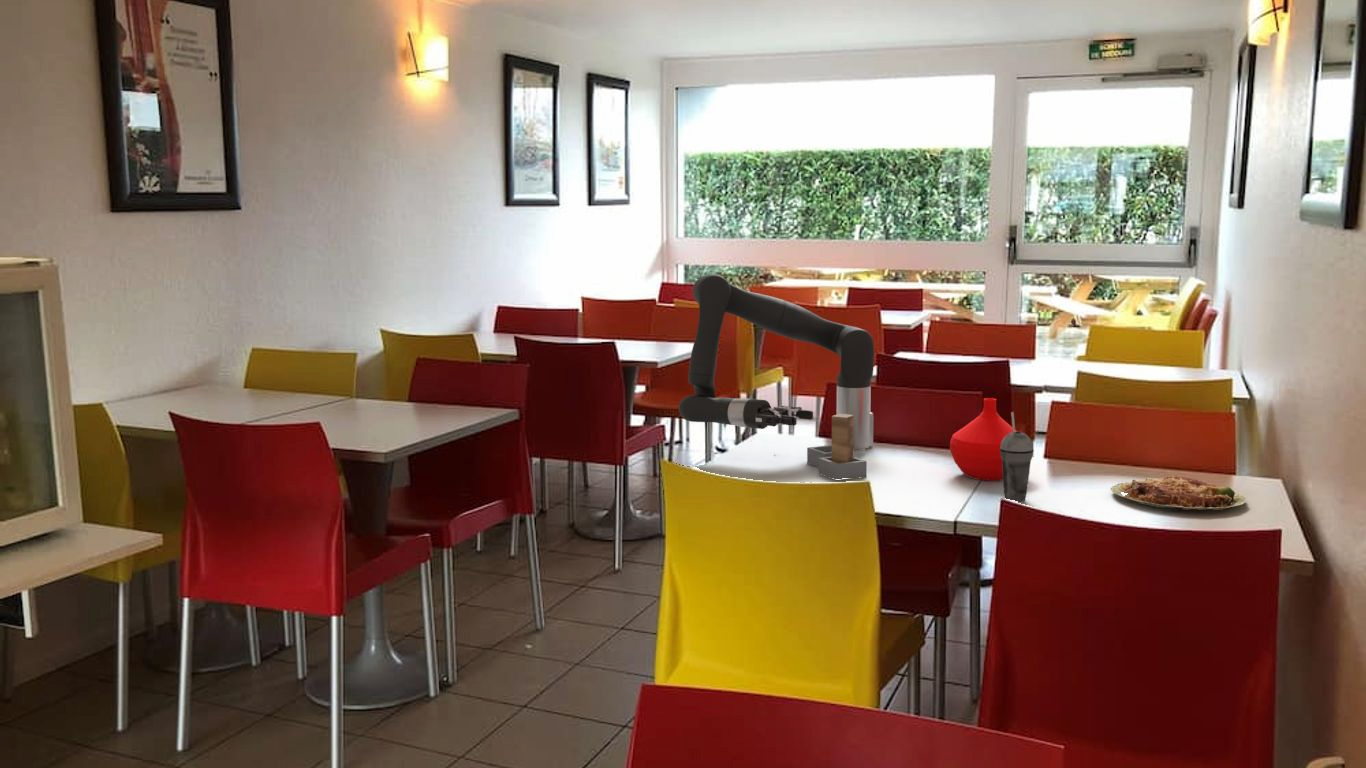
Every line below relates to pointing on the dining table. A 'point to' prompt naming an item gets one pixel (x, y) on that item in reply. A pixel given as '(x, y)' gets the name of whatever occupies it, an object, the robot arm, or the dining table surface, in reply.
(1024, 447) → the beverage cup
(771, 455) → the dining table surface
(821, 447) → the end cap far
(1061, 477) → the dining table surface
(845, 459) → the brown wooden tall block
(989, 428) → the vase
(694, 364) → the robot arm
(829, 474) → the end cap near
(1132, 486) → the rice dish
